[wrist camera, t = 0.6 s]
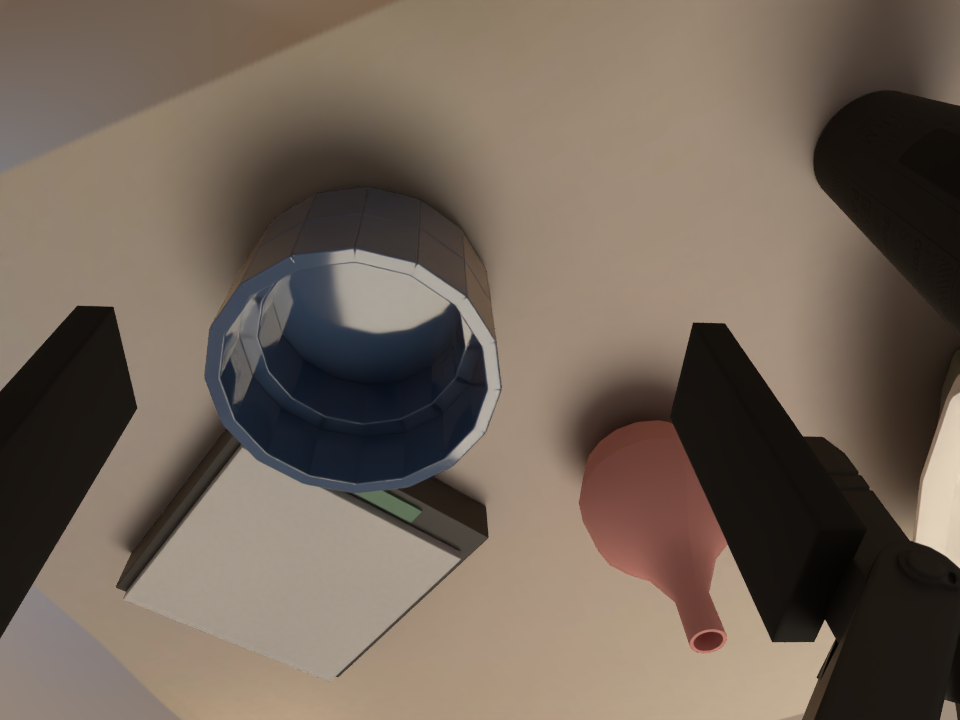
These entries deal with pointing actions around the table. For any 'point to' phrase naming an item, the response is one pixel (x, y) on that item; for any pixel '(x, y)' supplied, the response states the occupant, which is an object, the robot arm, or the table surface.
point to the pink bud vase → (656, 521)
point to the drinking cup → (901, 186)
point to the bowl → (942, 476)
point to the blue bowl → (357, 344)
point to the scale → (297, 559)
